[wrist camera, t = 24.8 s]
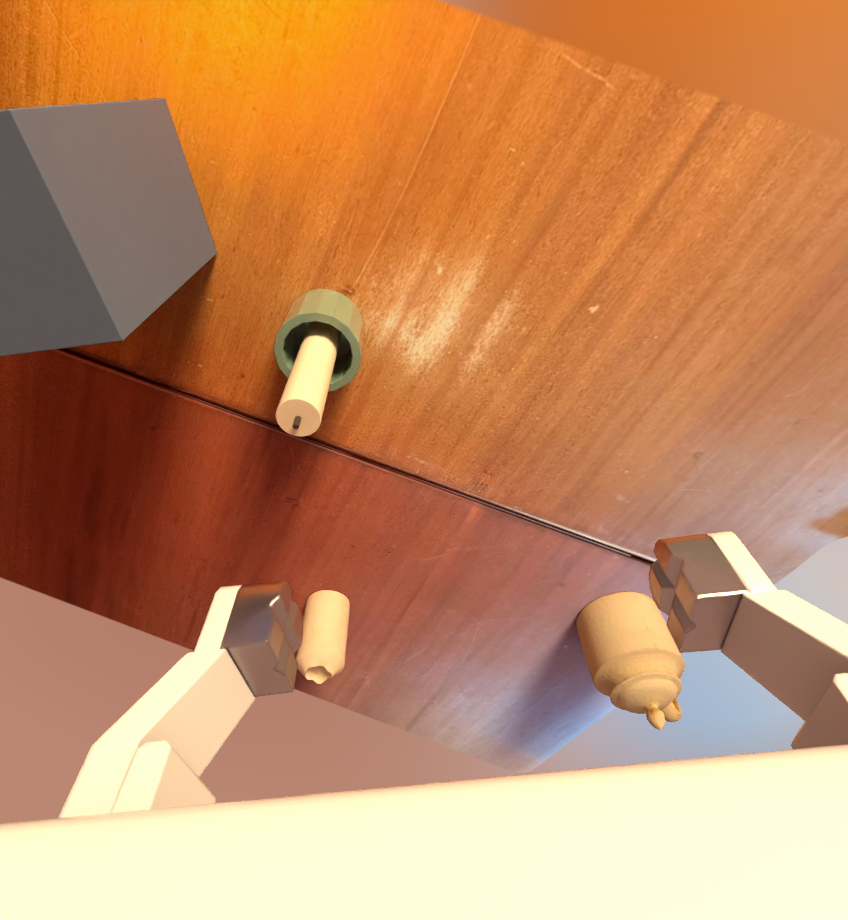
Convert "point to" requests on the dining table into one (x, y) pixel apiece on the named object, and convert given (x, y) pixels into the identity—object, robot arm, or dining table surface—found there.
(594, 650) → the sugar bowl
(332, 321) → the holder
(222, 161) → the dining table surface
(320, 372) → the taper
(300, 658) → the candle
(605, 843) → the robot arm
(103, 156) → the riser
